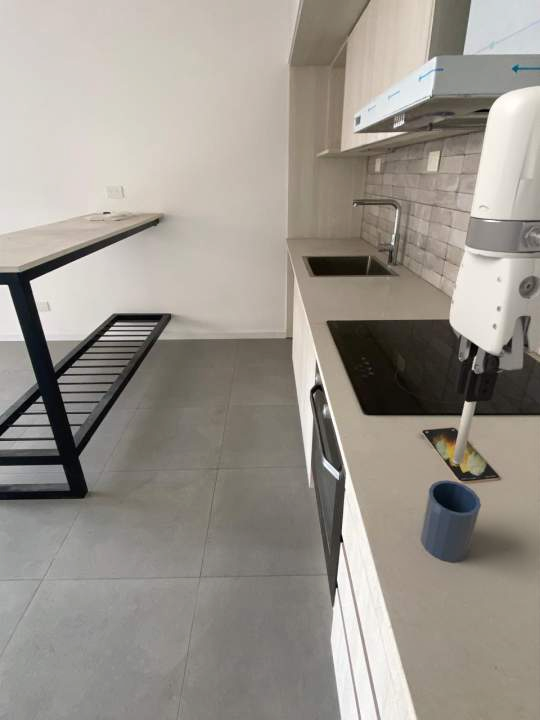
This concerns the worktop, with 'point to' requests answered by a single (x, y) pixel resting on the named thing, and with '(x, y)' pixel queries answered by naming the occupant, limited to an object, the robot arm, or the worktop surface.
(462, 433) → the stylus
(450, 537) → the pen pot
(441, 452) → the smartphone
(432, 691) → the worktop surface
